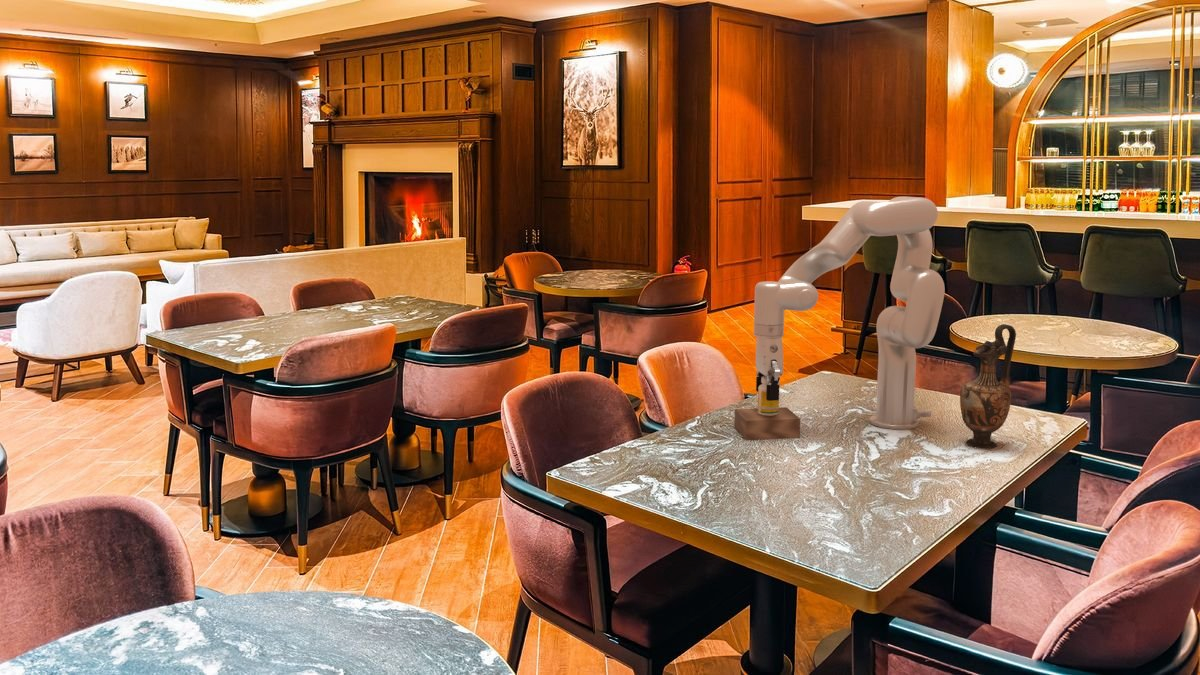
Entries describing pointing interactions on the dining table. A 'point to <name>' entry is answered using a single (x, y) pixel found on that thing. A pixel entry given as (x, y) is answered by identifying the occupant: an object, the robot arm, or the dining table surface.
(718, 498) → the dining table surface
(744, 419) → the walnut plinth
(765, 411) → the supplement bottle
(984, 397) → the vase
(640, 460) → the dining table surface
